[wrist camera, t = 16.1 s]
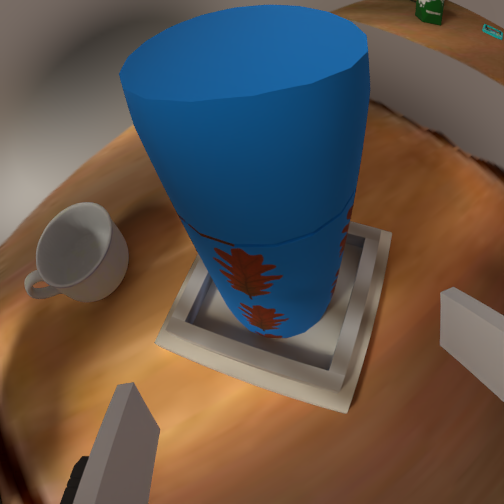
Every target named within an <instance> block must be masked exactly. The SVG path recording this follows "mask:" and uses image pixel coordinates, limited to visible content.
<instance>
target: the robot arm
mask: <svg viewBox="0 0 504 504" xmlns="http://www.w3.org/2000/svg"><path fill="white" fill-rule="evenodd" d="M440 346H441V347H443V348H444V349H445V350H446V351H447V352H448V353H450V354H451V355H452V356H453V357H454V358H455V359H456V360H458V361H459V362H460V363H461V364H462V365H463V366H464V367H466V368H467V369H468V370H469V371H470V372H471V373H472V374H473V375H475V376H476V377H477V378H478V379H479V380H480V381H481V382H482V383H483V384H485V385H486V386H487V387H488V388H489V389H490V390H491V391H492V392H493V393H494V394H496V395H497V396H498V397H499V398H500V399H501V400H502V401H503V402H504V316H503V315H502V314H500V313H498V312H497V311H495V310H493V309H492V308H490V307H488V306H486V305H485V304H483V303H481V302H479V301H478V300H476V299H474V298H473V297H471V296H469V295H467V294H465V293H464V292H462V291H460V290H458V289H457V288H455V287H452V288H449V289H447V290H445V291H443V292H441V324H440ZM159 434H160V428H159V426H158V425H157V423H156V421H155V420H154V418H153V416H152V414H151V413H150V411H149V409H148V408H147V406H146V404H145V402H144V400H143V399H142V397H141V395H140V393H139V391H138V389H137V388H136V386H135V384H134V382H132V383H126V384H120V385H117V388H116V390H115V392H114V395H113V397H112V400H111V402H110V404H109V407H108V409H107V412H106V414H105V417H104V419H103V422H102V424H101V427H100V429H99V432H98V435H97V437H96V440H95V442H94V445H93V448H92V450H91V453H90V456H82V457H81V459H80V460H79V461H78V462H77V463H76V464H75V466H74V468H73V470H72V473H71V475H70V479H69V481H68V483H67V488H66V489H65V491H64V494H63V497H62V500H61V502H60V504H148V500H149V493H150V487H151V480H152V474H153V468H154V462H155V456H156V450H157V445H158V439H159ZM0 504H2V502H1V497H0Z"/></svg>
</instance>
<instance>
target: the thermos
mask: <svg viewBox="0 0 504 504" xmlns="http://www.w3.org/2000/svg"><path fill="white" fill-rule="evenodd" d="M119 76H120V80H121V83H122V87H123V91H124V94H125V98H126V101H127V105H128V108H129V111H130V114H131V117H132V120H133V124H134V126H135V129H136V131H137V133H138V135H139V137H140V139H141V141H142V143H143V145H144V147H145V150H146V152H147V154H148V156H149V158H150V160H151V162H152V164H153V166H154V168H155V170H156V172H157V174H158V176H159V178H160V180H161V182H162V184H163V186H164V188H165V190H166V192H167V194H168V196H169V198H170V200H171V202H172V204H173V206H174V208H175V210H176V212H177V214H178V215H179V218H180V220H181V221H182V223H183V225H184V227H185V229H186V231H187V233H188V235H189V237H190V239H191V241H192V242H193V244H194V246H195V248H196V250H197V252H198V254H199V256H200V257H201V259H202V261H203V263H204V265H205V267H206V269H207V270H208V272H209V274H210V276H211V278H212V280H213V281H214V283H215V285H216V287H217V289H218V291H219V292H220V294H221V296H222V298H223V300H224V301H225V303H226V305H227V307H228V308H229V309H230V311H231V312H232V313H233V315H234V316H235V317H236V318H237V320H238V321H240V322H241V323H242V324H243V325H244V326H245V327H246V328H247V329H248V330H249V331H251V332H254V333H256V334H259V335H261V336H264V337H266V338H289V337H292V336H296V335H299V334H302V333H305V332H306V331H307V330H309V329H310V328H311V327H312V326H314V325H315V324H316V323H317V322H319V321H320V319H321V317H322V316H323V314H324V313H325V311H326V309H327V308H328V306H329V303H330V301H331V298H332V296H333V293H334V291H335V287H336V283H337V278H338V274H339V270H340V266H341V261H342V257H343V252H344V248H345V243H346V238H347V233H348V229H349V224H350V219H351V213H352V208H353V203H354V197H355V192H356V186H357V181H358V175H359V169H360V162H361V156H362V150H363V143H364V136H365V129H366V121H367V113H368V105H369V96H370V76H369V58H368V46H367V36H366V34H365V33H363V32H362V31H361V30H360V29H359V28H358V27H357V26H356V25H355V24H353V23H352V22H351V21H349V20H346V19H344V18H342V17H339V16H337V15H334V14H332V13H329V12H326V11H321V10H317V9H311V8H306V7H301V6H288V5H258V6H247V7H237V8H231V9H226V10H221V11H217V12H213V13H208V14H204V15H201V16H198V17H195V18H192V19H190V20H187V21H184V22H182V23H179V24H176V25H174V26H172V27H170V28H168V29H166V30H164V31H163V32H161V33H159V34H157V35H155V36H154V37H152V38H150V39H148V40H147V41H146V42H144V43H143V44H142V45H141V46H140V47H139V48H137V49H136V50H135V51H134V52H133V53H132V54H131V55H130V56H128V58H127V60H126V61H125V63H124V65H123V67H122V69H121V71H120V73H119Z"/></svg>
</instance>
